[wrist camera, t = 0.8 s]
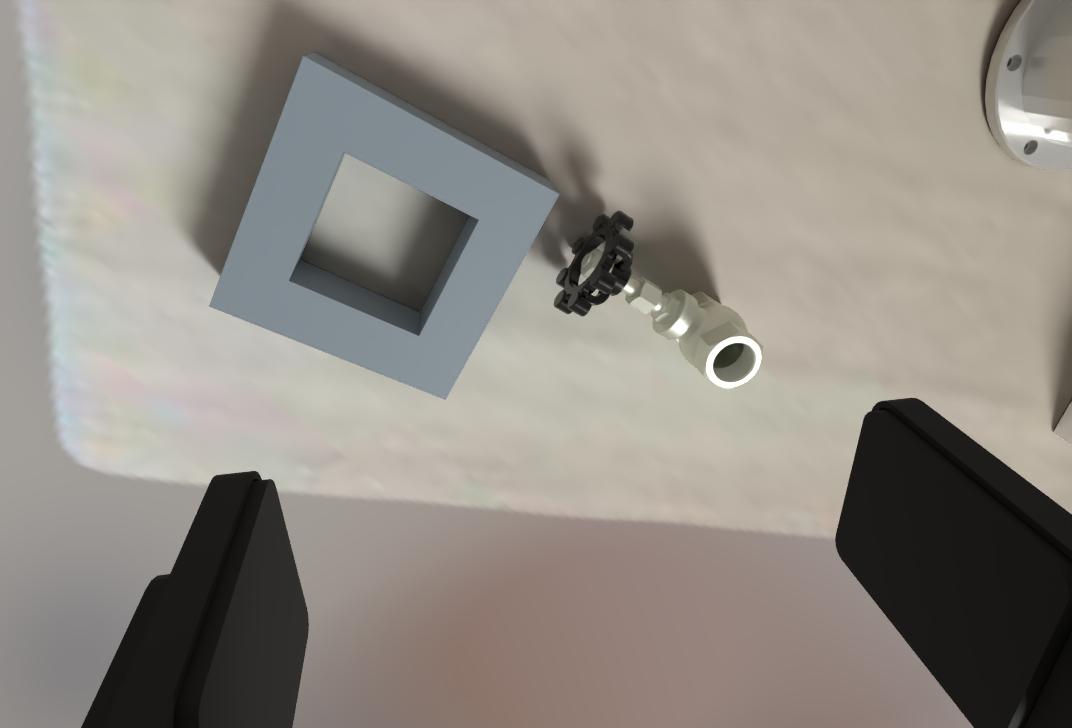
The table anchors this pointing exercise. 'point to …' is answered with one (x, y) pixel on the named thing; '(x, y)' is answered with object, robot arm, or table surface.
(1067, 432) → the ink cartridge box
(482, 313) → the socket block
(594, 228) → the valve
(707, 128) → the table surface
